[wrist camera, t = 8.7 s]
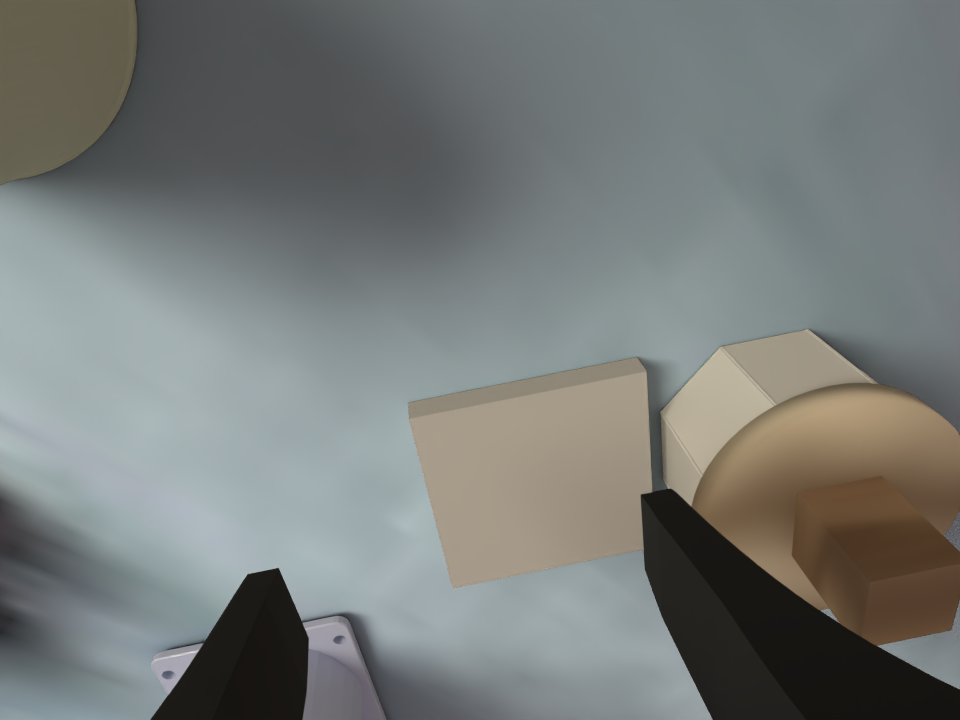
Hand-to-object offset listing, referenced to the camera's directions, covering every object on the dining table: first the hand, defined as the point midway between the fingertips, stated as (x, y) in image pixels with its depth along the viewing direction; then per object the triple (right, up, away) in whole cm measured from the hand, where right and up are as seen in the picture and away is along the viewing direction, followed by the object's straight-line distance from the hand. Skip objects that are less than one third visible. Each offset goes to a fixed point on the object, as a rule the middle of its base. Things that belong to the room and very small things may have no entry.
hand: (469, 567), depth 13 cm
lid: (+11, 0, +8) cm, 14 cm away
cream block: (+2, 0, +12) cm, 12 cm away
